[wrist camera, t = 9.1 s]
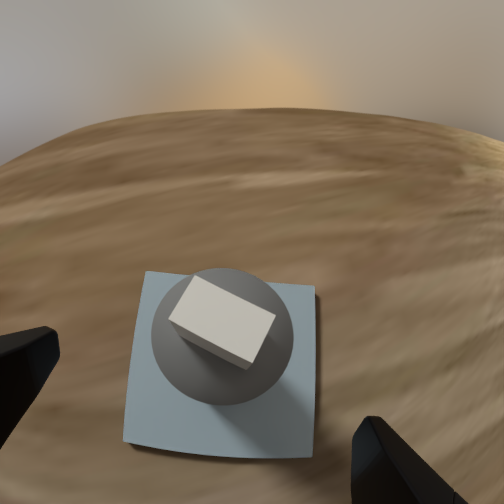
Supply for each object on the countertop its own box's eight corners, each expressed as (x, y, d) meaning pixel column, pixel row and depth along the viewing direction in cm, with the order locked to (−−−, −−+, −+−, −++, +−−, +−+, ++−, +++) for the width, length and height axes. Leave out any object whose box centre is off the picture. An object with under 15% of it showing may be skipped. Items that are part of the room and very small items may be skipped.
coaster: (308, 455, 17) (312, 457, 16) (126, 440, 16) (122, 441, 15) (311, 289, 22) (314, 285, 21) (148, 275, 22) (146, 270, 21)
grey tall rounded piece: (239, 413, 17) (264, 437, 6) (173, 380, 18) (103, 348, 7) (270, 351, 19) (333, 282, 8) (207, 319, 20) (190, 215, 9)
